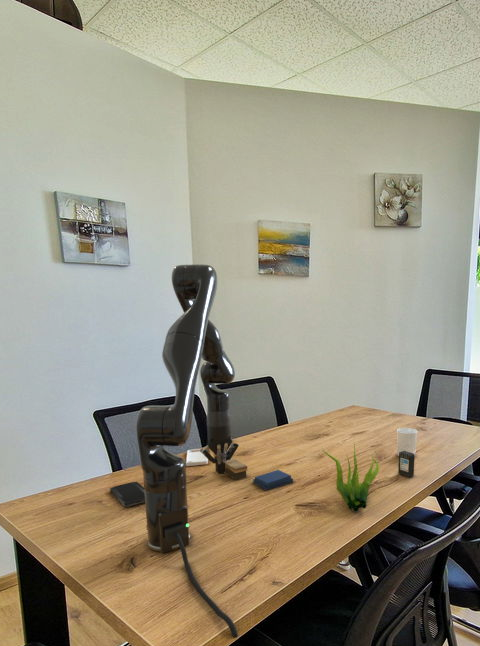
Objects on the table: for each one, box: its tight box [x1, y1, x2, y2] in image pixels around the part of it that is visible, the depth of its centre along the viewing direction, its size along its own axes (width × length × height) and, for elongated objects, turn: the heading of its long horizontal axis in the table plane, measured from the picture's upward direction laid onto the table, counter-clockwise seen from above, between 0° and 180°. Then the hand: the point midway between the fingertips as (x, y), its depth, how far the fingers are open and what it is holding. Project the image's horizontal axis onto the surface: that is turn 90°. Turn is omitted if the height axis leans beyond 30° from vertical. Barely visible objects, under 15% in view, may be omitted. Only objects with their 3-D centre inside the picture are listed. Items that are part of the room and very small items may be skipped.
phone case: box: [185, 448, 209, 467], centre depth 160 cm, size 7×1×15 cm
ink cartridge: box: [397, 451, 416, 478], centre depth 145 cm, size 5×2×8 cm, turn 44°
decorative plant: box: [321, 436, 380, 513], centre depth 132 cm, size 18×30×15 cm, turn 163°
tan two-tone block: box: [224, 456, 248, 481], centre depth 146 cm, size 12×4×4 cm, turn 41°
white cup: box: [396, 427, 419, 457], centre depth 164 cm, size 8×8×10 cm
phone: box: [109, 481, 145, 508], centre depth 128 cm, size 8×1×15 cm
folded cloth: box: [252, 469, 294, 491], centre depth 139 cm, size 8×10×2 cm
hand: (220, 473), depth 143 cm, fingers closed
